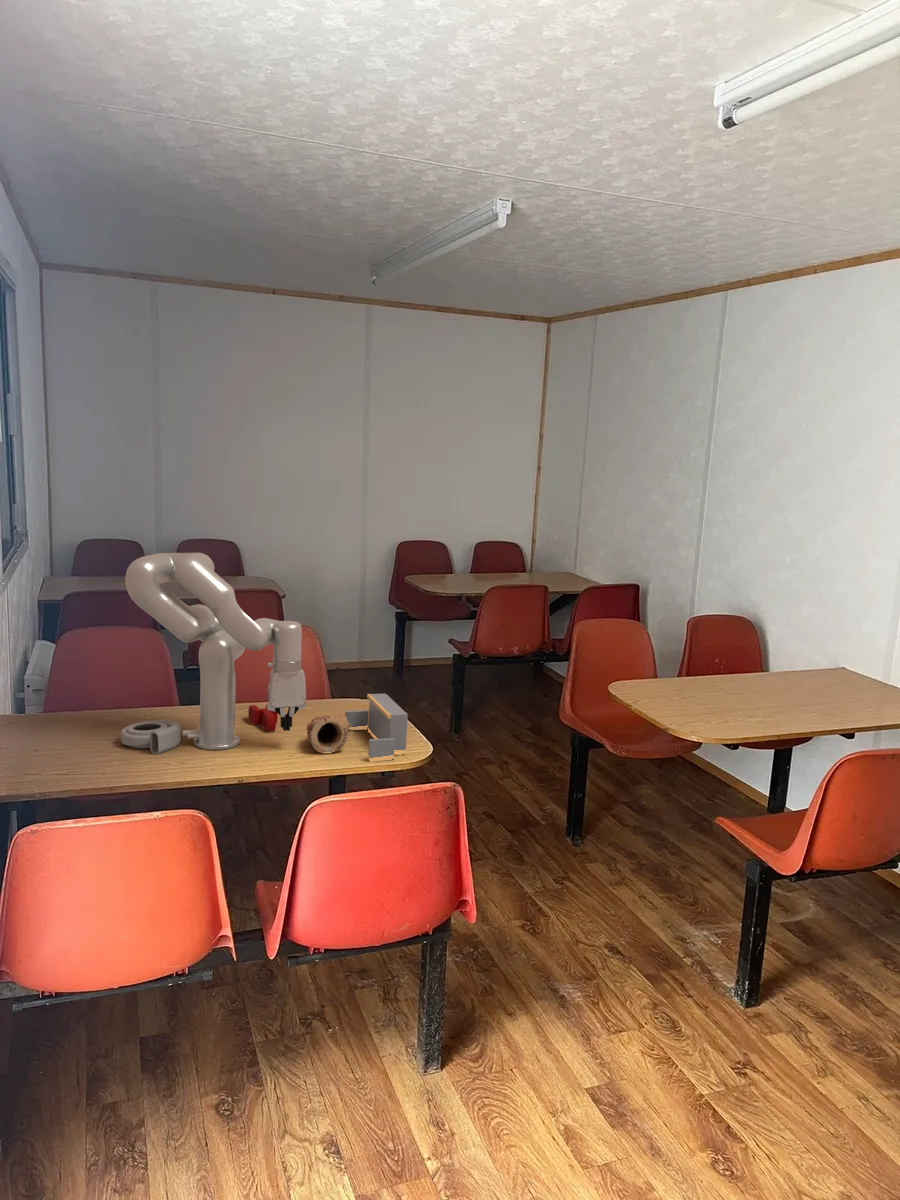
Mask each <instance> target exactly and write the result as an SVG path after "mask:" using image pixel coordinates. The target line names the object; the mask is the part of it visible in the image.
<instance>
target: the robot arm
mask: <svg viewBox="0 0 900 1200" xmlns="http://www.w3.org/2000/svg"><path fill="white" fill-rule="evenodd" d="M125 573H126V574H125V578H124V579H125V588H126V591H127V593H128V595H129V597H130V598H131V600H132V601H133V602H134V603H135V604H136V605H137V606H138V607H139V608H140V609H141V610H143V611H144V612H145V613H147V614H148V615H149V616H151V617H152V618H153V619H154V620H155V621H156V622H158V624H160V626H163V627H164V629H166V630H167V631H169V632H170V633H171V634H172V635H174V636H175V637H176V638H177V639H178V640H180V641H181V642H183V643H186V644H187V643H189V644H190V643H194V642H197V641H201V644H200V646H199V650H198V664H199V672H200V673H199V675H200V681H199V683H200V686H199V687H200V688H199V689H200V695H199V696H200V698H199V701H200V703H199V725H197V728H194V729H183V730H181V738H187V740H188V739H190V740H191V739H193V745H194V746H195V747H197V748H199V749H203V750H207V751H208V750H210V751H222V750H227V749H228V750H229V749H232V748H235V747H236V746H239V744H240V743H241V741H240V740H241V738H240V736H238V735H236V734H235V725H236V724H235V720H236V719H235V718H236V714H235V713H236V688H237V687H236V685H237V683H236V681H237V680H236V670H235V661H236V660H238V659H239V658H240V657H241V656H242V655H243V654H244V652H245V650H246V649H247V650H249V651H260V650H262V649H265V647H266V646H269V645H272V644H273V659H272V661H271V662H267V666H268V668H272V669H271V671H270V675H269V679H268V689H267V704H268V705H267V704H266V705H267V709H268V710H270V711H276V712H277V715H279V716H280V728H281V729H282V730H283V732H286V731H288V732H289V731H291V727H293V717H294V716H295V714H296V713H297V712H298V711H299V710H300V711H301V710H304V709H306V707H307V705H306V703H307V687H306V686H307V685H306V684H307V683H306V676H305V670H303V669H302V641H303V639H302V638H303V637H302V636H303V635H302V634H303V633H302V632H303V631H302V629H303V628H302V627H303V626H302V625H301V623H300V622H298V621H294V620H277V619H272V618H267V617H262V618H261V617H260V618H257V619H256V620H253V619H252V618H251V617H250V616H249V615H248V614H247V613H246V612H244V610H243V609H242V608H241V607H240V605H239V604H238V602H237V599H236V594H235V590H234V588H233V587H232V586H231V584H229V583H228V582H226V580H225V579H223V578H222V577H221V576H220V575H219V574H218V573H217V572H215V563H214V562H213V560H212V558H210V556H209V555H207V554H205V553H203V552H159V553H152V554H149V555H144V556H141V557H138V558H136V559H134V560H133V561H132V562H131V563H130V564H129V566H128V567H127V570H126V572H125ZM164 583H179V584H181V585H182V587H184V588H185V589H186V590H187V591H188V592H190V593H191V595H193V596H194V597H195V598H197V599H198V600H199V601H200V602H201V603H202V604H192V605H188V604H187V603H185V602H184V601H182V600H181V599H180V598H179V597H177V595H175V594H174V593H173V592H171V591H169V590H167V589H166V588H164V587H163V586H161V584H164ZM203 604H204V605H203ZM285 708H288V709H287V712H286V711H285Z"/></svg>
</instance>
